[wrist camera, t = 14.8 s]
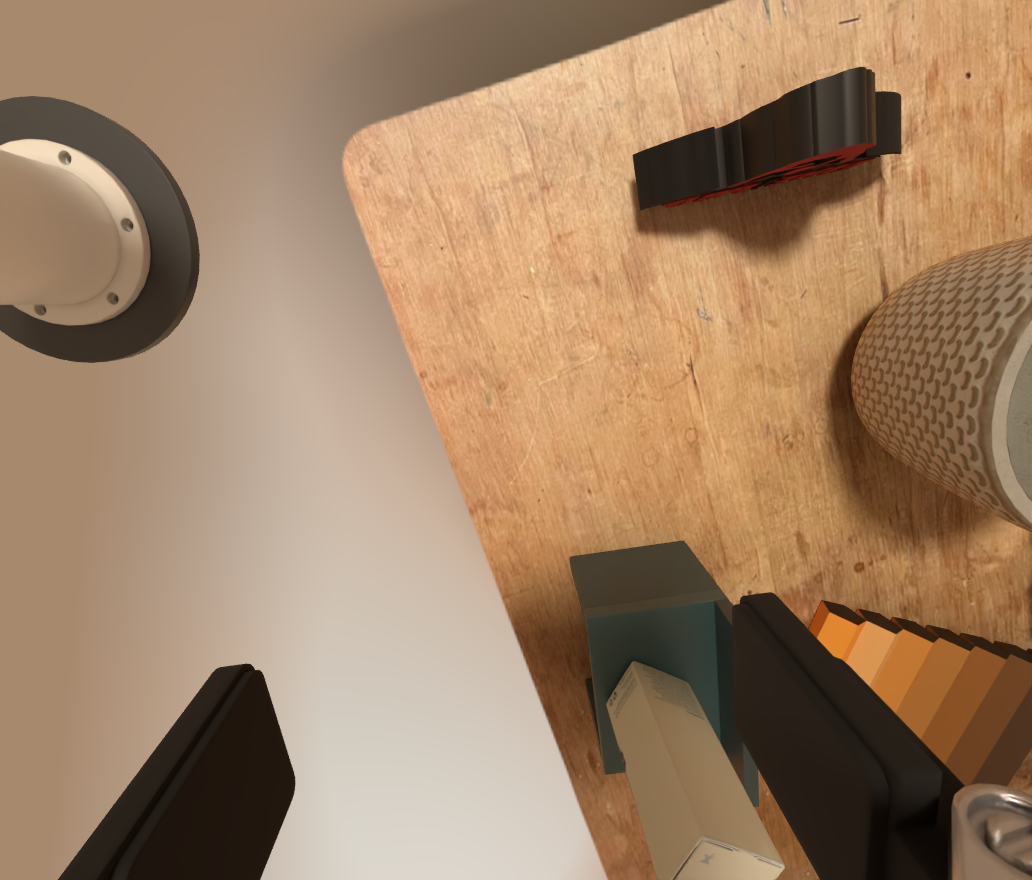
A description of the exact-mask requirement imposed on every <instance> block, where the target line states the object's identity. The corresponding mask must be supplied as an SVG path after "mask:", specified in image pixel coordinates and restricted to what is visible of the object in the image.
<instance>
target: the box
mask: <svg viewBox="0 0 1032 880" xmlns="http://www.w3.org/2000/svg"><path fill="white" fill-rule="evenodd" d="M606 705H607V709H608V712H609V716H610V719H611V723H612V726H613V730H614V733H615V736H616V740H617V743H618V746H619V749H620V753H621V756H622V760H623V763H624V766H625V770H626V774H627V777H628V781H629V784H630V787H631V791H632V794H633V797H634V801H635V804H636V808H637V811H638V815H639V818H640V821H641V825H642V828H643V832H644V835H645V839H646V842H647V845H648V849H649V852H650V855H651V859H652V862H653V866H654V869H655V873H656V876H657V879H658V880H775V879H776V878H777V877H778V876H779V875H780V873H781V872H782V871H783V870H784V868H785V865H784V863H783V861H782V859H781V858H780V856H779V854H778V852H777V850H776V848H775V846H774V844H773V843H772V841H771V839H770V837H769V835H768V833H767V831H766V829H765V827H764V825H763V824H762V822H761V820H760V818H759V816H758V814H757V812H756V810H755V808H754V807H753V805H752V803H751V801H750V799H749V797H748V795H747V793H746V791H745V789H744V787H743V785H742V784H741V782H740V780H739V778H738V776H737V774H736V772H735V770H734V768H733V766H732V765H731V763H730V761H729V759H728V757H727V755H726V753H725V751H724V749H723V747H722V745H721V743H720V741H719V740H718V738H717V736H716V734H715V732H714V730H713V728H712V726H711V724H710V723H709V721H708V719H707V717H706V715H705V713H704V711H703V709H702V707H701V705H700V703H699V702H698V700H697V698H696V696H695V694H694V692H693V690H692V688H691V686H690V684H689V683H688V682H686V681H683V680H681V679H679V678H677V677H674V676H672V675H669V674H667V673H665V672H662V671H660V670H657V669H655V668H652V667H650V666H647V665H645V664H642V663H639V662H637V661H632V662H631V664H630V666H629V667H628V669H627V670H626V672H625V673H624V675H623V677H622V678H621V680H620V681H619V683H618V685H617V687H616V688H615V690H614V691H613V693H612V695H611V696H610V698H609V700H608V702H607V704H606Z"/></svg>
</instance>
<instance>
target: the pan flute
mask: <svg viewBox="0 0 1032 880" xmlns="http://www.w3.org/2000/svg"><path fill="white" fill-rule="evenodd" d="M808 630H809V631H810V632H811V633H812V634H813V635H814V636H815V637H816V638H817V639H818V640H819V641H820V642H821V643H822V644H823V645H824V646H825V648H826V649H827V650H828V651H829V652H830V653H831V654H832V655H833V656H834V657H837V658H840V659H842V660H843V661H844V662H846V663H847V664H848V665H849V666H850V667H851V668H852V669H853V670H854V671H855V672H856V673H857V674H858V675H859V676H860V677H861V678H862V679H863V680H864V681H865V682H866V683H867V684H868V685H869V687H870V688H871V689H872V690H873V691H874V692H875V693H876V694H877V695H878V696H879V697H880V698H881V699H882V700H883V701H884V702H885V703H886V704H887V705H888V706H889V707H890V708H891V709H892V710H893V711H894V712H895V713H896V715H897V716H898V717H899V718H900V719H901V720H902V721H903V722H904V723H905V724H906V725H907V726H908V727H909V728H910V729H911V730H912V731H913V732H914V733H915V734H916V735H917V736H918V737H919V738H920V739H921V740H922V741H923V743H924V744H925V745H926V746H927V747H928V748H929V749H930V750H931V751H932V752H933V753H934V754H935V755H936V756H937V757H938V758H939V759H940V760H941V761H942V762H943V763H944V764H945V765H946V766H947V767H948V768H949V769H950V771H951V772H952V773H953V774H954V775H955V776H956V777H957V778H958V779H959V780H960V781H961V782H962V783H963V784H964V785H965V786H969V785H973V784H978V783H982V784H998V785H1002V786H1005V787H1007V785H1008V784H1009V782H1010V781H1011V779H1012V778H1013V776H1014V774H1015V773H1016V771H1017V770H1018V768H1019V767H1020V765H1021V764H1022V762H1023V760H1024V759H1025V757H1026V756H1027V754H1028V753H1029V751H1030V750H1031V748H1032V649H1028V650H1027V652H1026V651H1025V650H1023V649H1021V648H1019V647H1018V646H1015V645H1011V644H1007V643H1003V642H998V641H995V642H994V644H992V643H991V642H989V641H987V640H986V639H984V638H981V637H977V636H973V635H969V634H964V633H961V635H960V636H958V635H956V634H955V633H953V632H951V631H950V630H947V629H943V628H939V627H934V626H930V625H927V627H926V629H925V628H923V627H922V626H920V625H919V624H917V623H916V622H913V621H909V620H905V619H900V618H896V617H893V618H892V620H891V621H890V620H889V619H887V618H885V617H884V616H882V615H881V614H879V613H875V612H870V611H866V610H862V609H857V611H856V613H855V612H853V611H852V610H850V609H849V608H847V607H846V606H844V605H841V604H836V603H832V602H828V601H823V600H822V601H821V604H820V606H819V608H818V610H817V612H816V614H815V616H814V618H813V621H812V623H811V625H810V627H809V629H808Z"/></svg>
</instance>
